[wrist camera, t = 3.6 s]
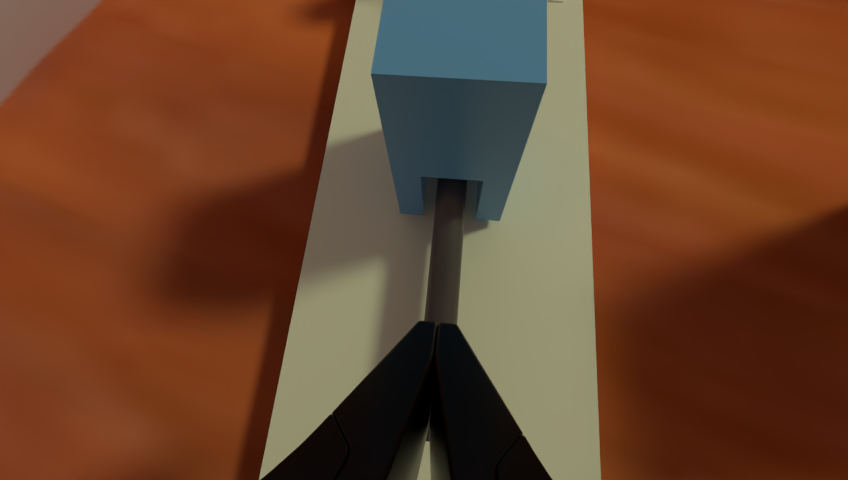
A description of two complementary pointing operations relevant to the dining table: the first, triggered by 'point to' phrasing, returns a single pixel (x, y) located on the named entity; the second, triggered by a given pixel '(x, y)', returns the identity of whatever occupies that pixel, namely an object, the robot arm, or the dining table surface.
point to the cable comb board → (453, 266)
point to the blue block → (459, 93)
